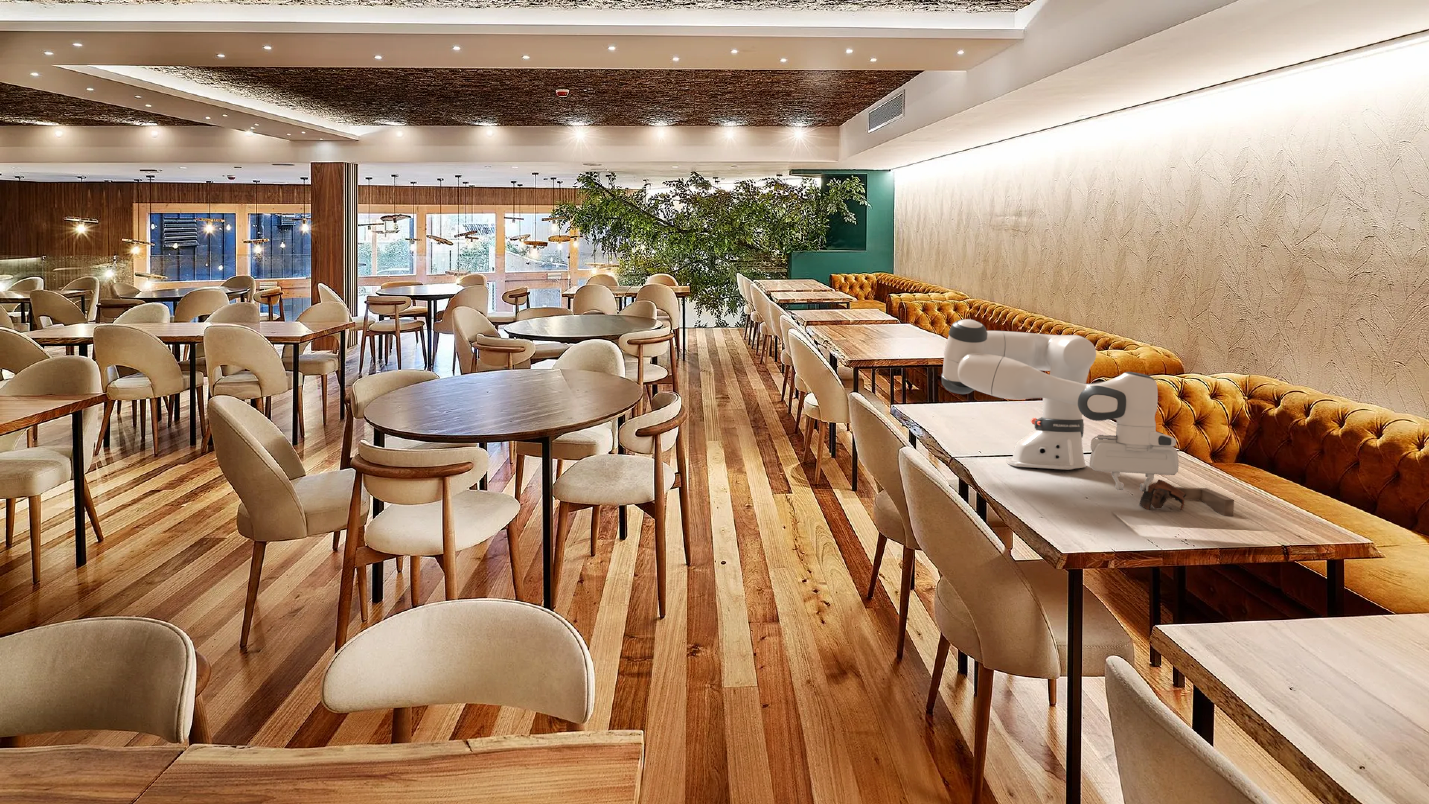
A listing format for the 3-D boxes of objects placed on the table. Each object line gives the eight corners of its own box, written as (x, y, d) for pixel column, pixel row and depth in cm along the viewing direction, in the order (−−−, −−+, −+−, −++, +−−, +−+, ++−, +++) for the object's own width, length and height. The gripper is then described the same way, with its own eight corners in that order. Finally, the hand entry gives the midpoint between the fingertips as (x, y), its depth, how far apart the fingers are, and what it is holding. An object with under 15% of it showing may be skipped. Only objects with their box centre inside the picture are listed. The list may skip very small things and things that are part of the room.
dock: (1175, 513, 201) (1176, 497, 200) (1152, 501, 216) (1153, 486, 216) (1233, 516, 198) (1234, 499, 198) (1206, 503, 214) (1206, 488, 214)
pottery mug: (1137, 503, 213) (1155, 477, 211) (1172, 524, 208) (1191, 497, 207) (1133, 501, 202) (1153, 473, 201) (1171, 523, 198) (1191, 495, 196)
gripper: (1094, 435, 204) (1091, 489, 205) (1183, 440, 200) (1179, 495, 202) (1088, 433, 210) (1084, 485, 212) (1173, 436, 207) (1169, 490, 208)
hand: (1131, 490), depth 207 cm, fingers open, 4 cm apart
